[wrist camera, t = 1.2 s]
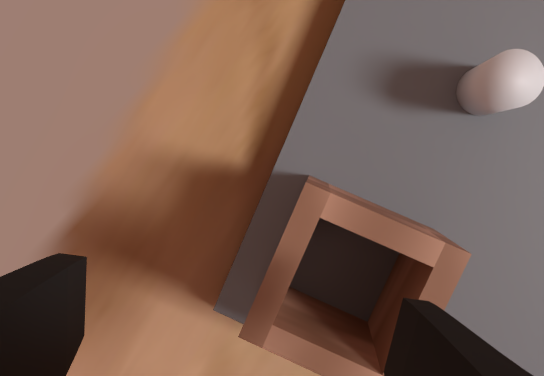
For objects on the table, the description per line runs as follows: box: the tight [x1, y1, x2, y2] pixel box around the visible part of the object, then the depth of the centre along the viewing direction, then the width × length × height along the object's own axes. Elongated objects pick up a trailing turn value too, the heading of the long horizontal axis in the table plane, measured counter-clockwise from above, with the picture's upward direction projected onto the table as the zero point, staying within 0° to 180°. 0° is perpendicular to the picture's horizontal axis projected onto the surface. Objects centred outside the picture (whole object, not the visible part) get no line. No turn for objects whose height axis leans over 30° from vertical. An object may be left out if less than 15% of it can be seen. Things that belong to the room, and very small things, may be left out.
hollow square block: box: [238, 175, 472, 376], centre depth 16 cm, size 5×5×4 cm
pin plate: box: [213, 0, 544, 376], centre depth 17 cm, size 14×17×4 cm
